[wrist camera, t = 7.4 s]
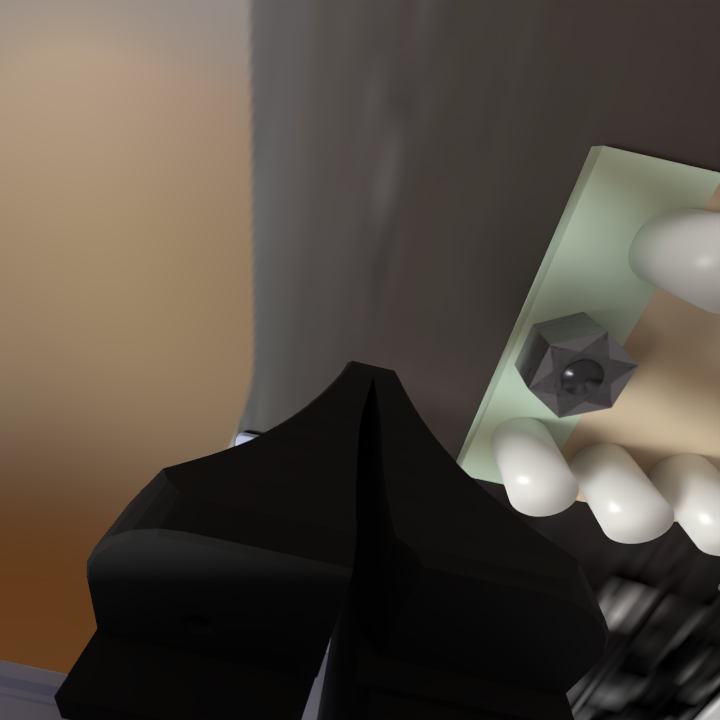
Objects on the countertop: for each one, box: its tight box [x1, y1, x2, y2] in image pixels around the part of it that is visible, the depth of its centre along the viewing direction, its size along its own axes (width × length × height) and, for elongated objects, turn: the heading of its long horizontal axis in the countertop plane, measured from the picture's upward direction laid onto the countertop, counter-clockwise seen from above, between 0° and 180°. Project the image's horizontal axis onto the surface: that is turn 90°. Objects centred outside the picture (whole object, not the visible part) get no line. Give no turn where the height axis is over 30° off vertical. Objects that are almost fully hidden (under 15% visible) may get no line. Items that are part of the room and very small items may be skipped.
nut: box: [514, 312, 639, 418], centre depth 18 cm, size 5×4×2 cm
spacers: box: [491, 207, 720, 556], centre depth 18 cm, size 15×14×4 cm
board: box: [456, 146, 720, 522], centre depth 20 cm, size 18×14×1 cm
